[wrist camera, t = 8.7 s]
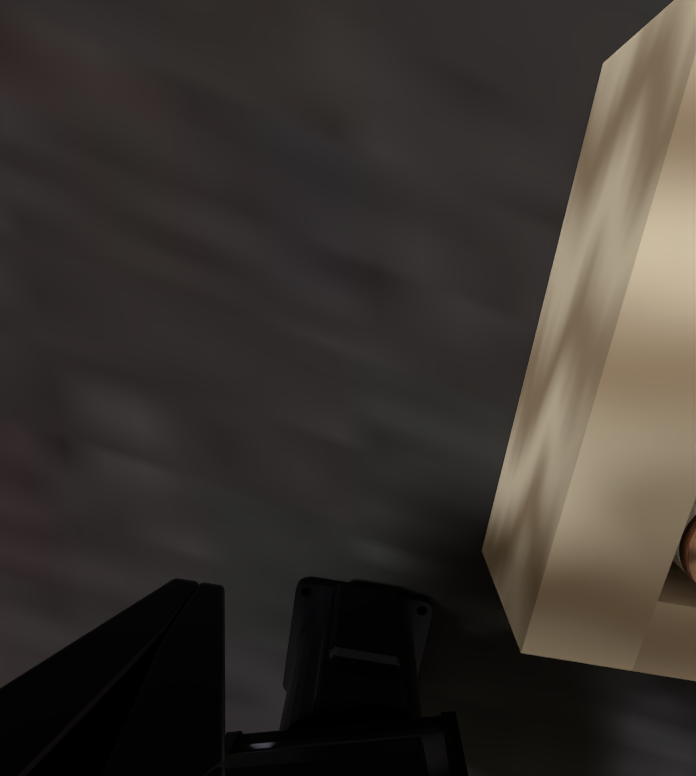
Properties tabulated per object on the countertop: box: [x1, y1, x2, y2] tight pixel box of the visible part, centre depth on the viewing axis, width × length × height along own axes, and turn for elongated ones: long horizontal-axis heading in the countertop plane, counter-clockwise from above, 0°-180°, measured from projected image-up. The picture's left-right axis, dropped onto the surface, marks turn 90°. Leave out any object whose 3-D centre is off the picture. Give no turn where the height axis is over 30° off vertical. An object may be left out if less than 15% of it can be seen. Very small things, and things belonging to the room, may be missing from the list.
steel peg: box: [673, 498, 696, 583], centre depth 18 cm, size 4×4×6 cm
